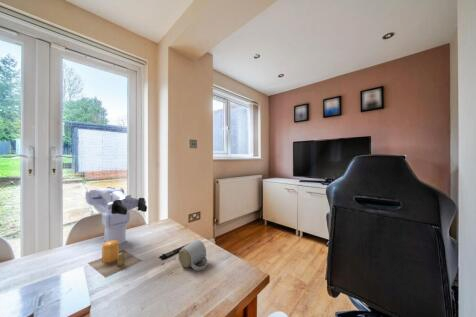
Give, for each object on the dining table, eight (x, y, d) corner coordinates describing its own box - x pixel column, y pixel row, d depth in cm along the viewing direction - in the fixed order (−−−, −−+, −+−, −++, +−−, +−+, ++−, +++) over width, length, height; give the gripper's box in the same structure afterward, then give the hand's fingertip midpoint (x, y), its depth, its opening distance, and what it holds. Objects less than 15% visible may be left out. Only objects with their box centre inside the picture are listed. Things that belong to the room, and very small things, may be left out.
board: (87, 267, 66) (87, 252, 66) (122, 253, 76) (123, 240, 76) (105, 282, 58) (105, 265, 58) (142, 264, 68) (142, 249, 68)
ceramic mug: (176, 265, 68) (177, 244, 68) (193, 255, 74) (194, 237, 74) (196, 276, 62) (196, 253, 62) (212, 264, 68) (212, 244, 68)
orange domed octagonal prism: (100, 259, 69) (100, 243, 69) (114, 253, 73) (114, 239, 73) (105, 263, 66) (106, 247, 66) (120, 257, 70) (120, 242, 70)
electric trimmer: (194, 250, 80) (194, 243, 80) (161, 266, 67) (161, 257, 67) (189, 248, 82) (189, 241, 82) (156, 263, 70) (156, 254, 70)
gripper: (104, 192, 74) (117, 202, 66) (140, 191, 86) (155, 199, 78) (102, 209, 74) (114, 221, 66) (138, 205, 86) (152, 215, 78)
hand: (136, 210), depth 72 cm, fingers open, 7 cm apart
